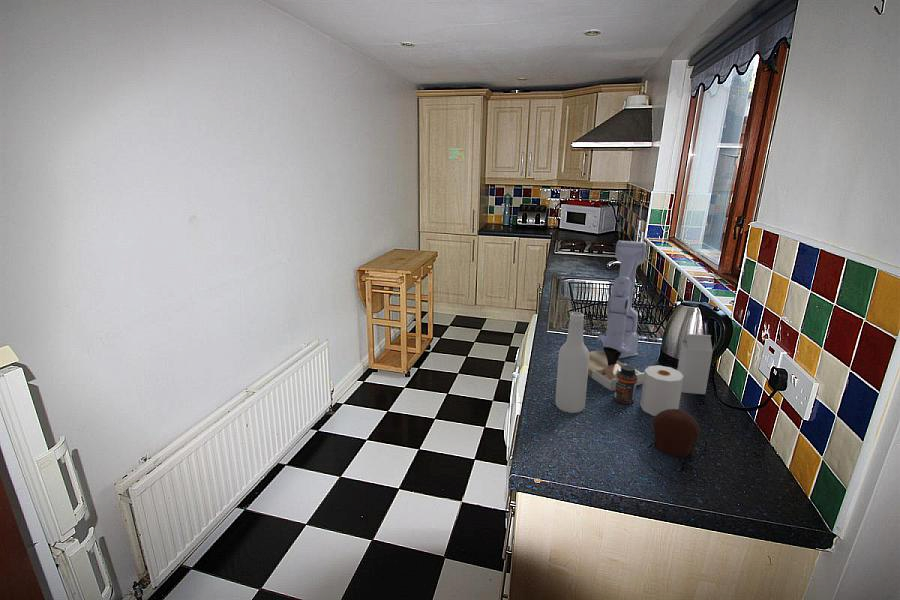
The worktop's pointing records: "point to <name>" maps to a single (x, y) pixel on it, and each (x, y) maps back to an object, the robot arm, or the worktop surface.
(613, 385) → the tray
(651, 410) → the toilet paper
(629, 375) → the supplement bottle
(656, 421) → the muffin
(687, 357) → the milk carton
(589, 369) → the beech board
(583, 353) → the alcohol
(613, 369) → the salmon pink cube
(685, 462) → the worktop surface
